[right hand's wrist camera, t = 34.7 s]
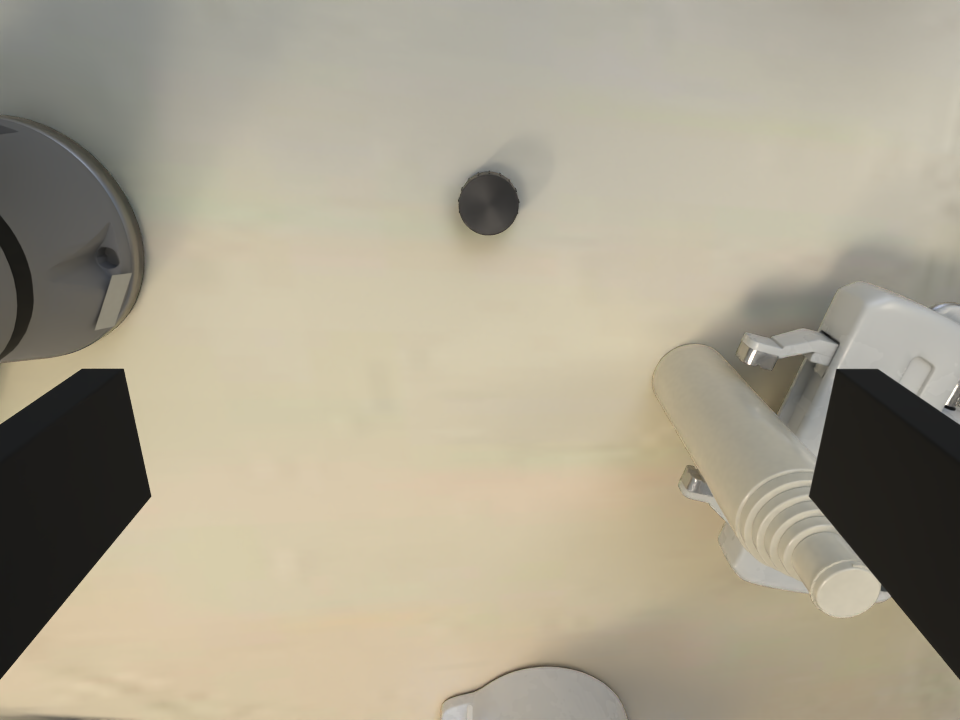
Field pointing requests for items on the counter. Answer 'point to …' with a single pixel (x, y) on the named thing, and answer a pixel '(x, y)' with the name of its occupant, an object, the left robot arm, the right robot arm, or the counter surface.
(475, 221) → the cap
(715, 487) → the bottle
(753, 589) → the counter surface
